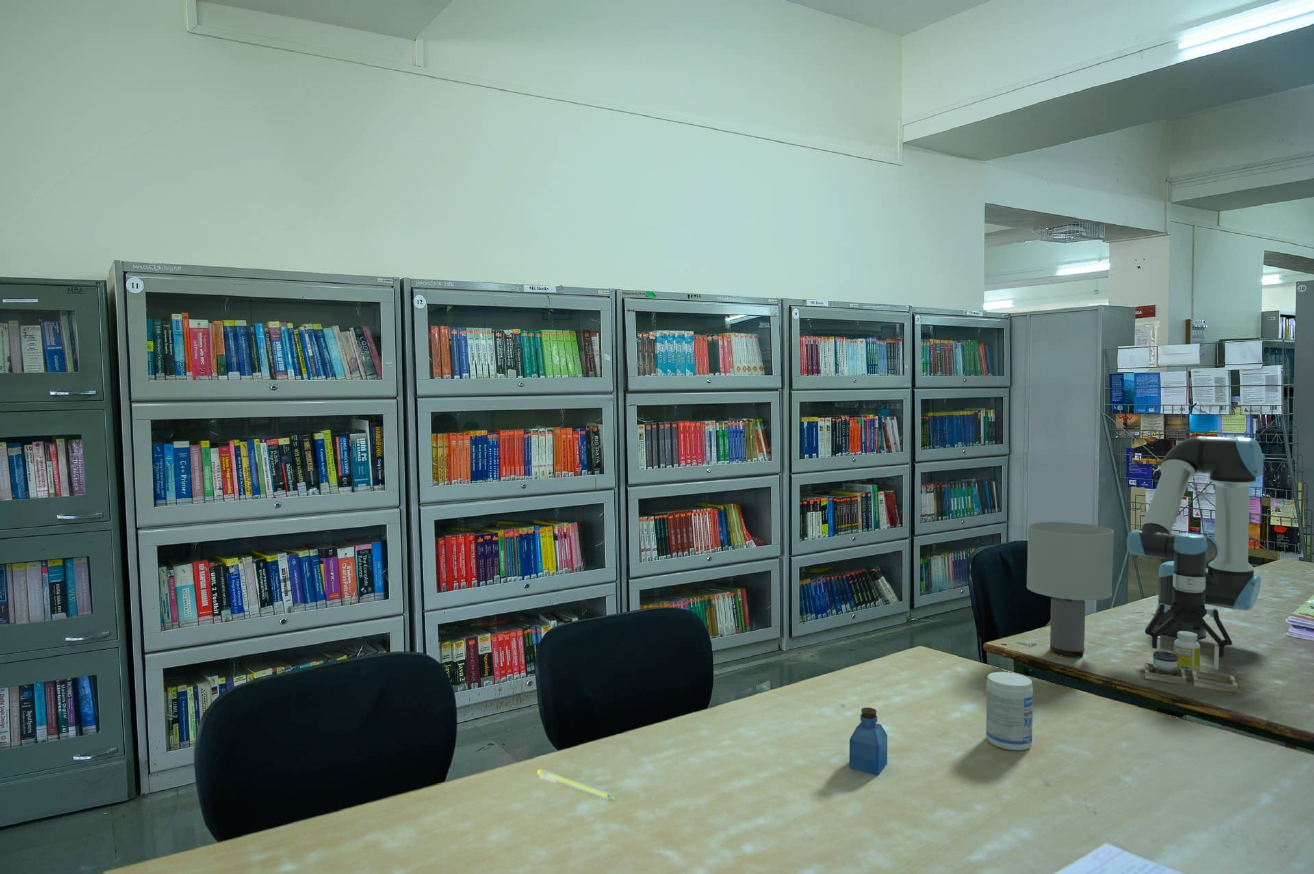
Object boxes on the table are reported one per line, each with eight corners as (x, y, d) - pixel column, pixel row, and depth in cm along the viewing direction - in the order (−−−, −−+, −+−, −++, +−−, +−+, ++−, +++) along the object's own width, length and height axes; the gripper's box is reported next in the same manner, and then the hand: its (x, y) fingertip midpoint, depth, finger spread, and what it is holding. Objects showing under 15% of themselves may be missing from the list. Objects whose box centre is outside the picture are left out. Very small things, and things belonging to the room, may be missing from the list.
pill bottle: (1191, 668, 224) (1192, 630, 223) (1204, 676, 218) (1205, 637, 217) (1168, 667, 225) (1169, 629, 224) (1180, 675, 218) (1182, 636, 218)
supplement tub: (1035, 754, 171) (1036, 688, 170) (987, 749, 174) (989, 683, 173) (1028, 736, 180) (1029, 673, 179) (983, 731, 183) (984, 669, 182)
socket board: (1140, 670, 222) (1140, 661, 222) (1236, 685, 211) (1237, 675, 211) (1141, 683, 213) (1141, 673, 213) (1241, 699, 201) (1242, 688, 201)
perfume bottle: (878, 775, 162) (879, 718, 161) (849, 768, 165) (849, 712, 165) (887, 763, 167) (887, 708, 167) (858, 756, 171) (859, 702, 170)
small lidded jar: (1152, 671, 219) (1152, 650, 218) (1176, 674, 216) (1177, 653, 215) (1152, 677, 214) (1153, 655, 213) (1177, 681, 211) (1178, 659, 210)
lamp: (1066, 637, 253) (1068, 520, 251) (1128, 660, 231) (1132, 532, 229) (1008, 645, 246) (1010, 524, 244) (1067, 669, 224) (1070, 536, 222)
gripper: (1136, 586, 223) (1134, 660, 224) (1245, 598, 210) (1243, 676, 211) (1136, 581, 230) (1134, 652, 231) (1242, 592, 217) (1239, 667, 218)
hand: (1186, 664), depth 221 cm, fingers open, 13 cm apart
